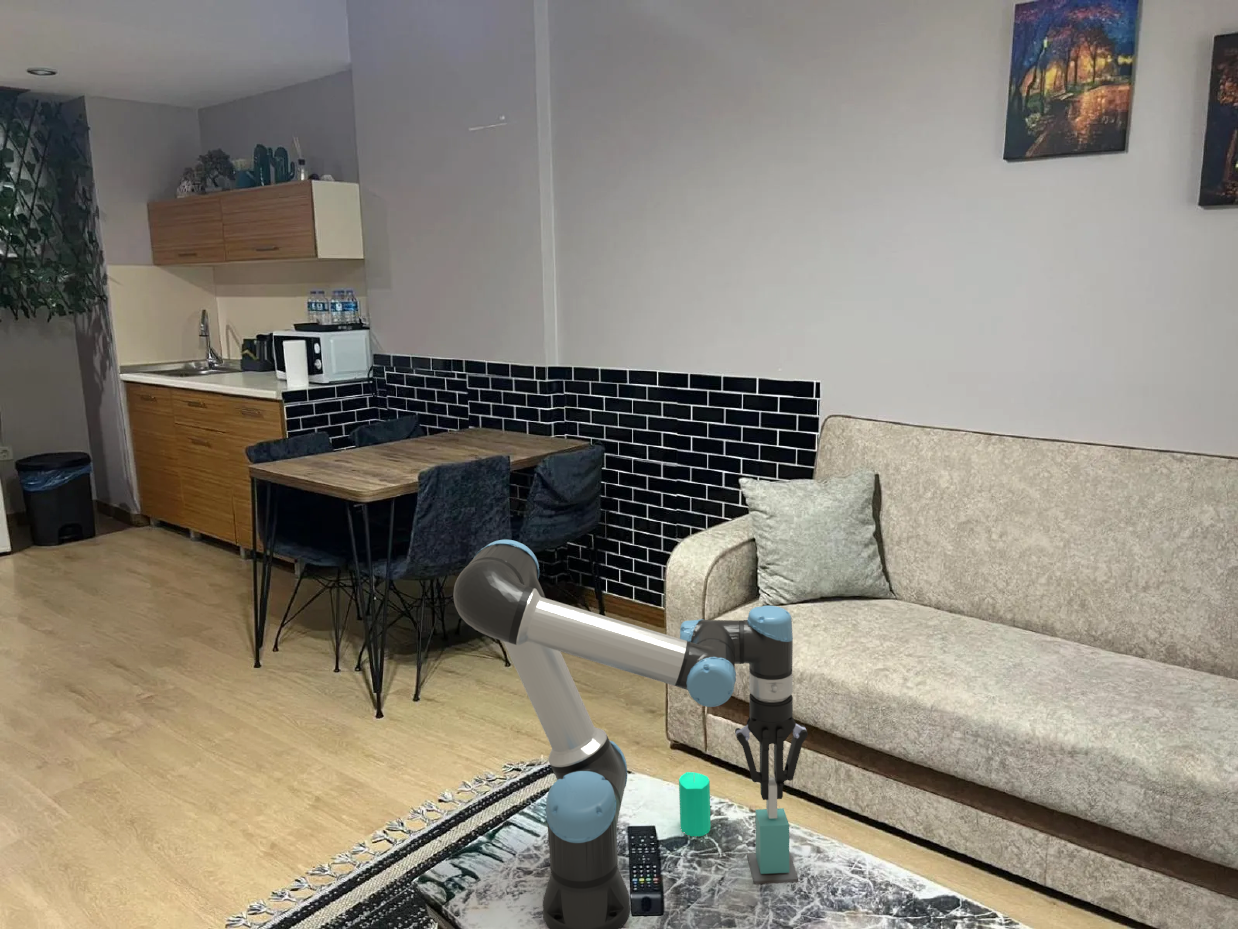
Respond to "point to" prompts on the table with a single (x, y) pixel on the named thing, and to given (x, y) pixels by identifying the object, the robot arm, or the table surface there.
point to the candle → (694, 804)
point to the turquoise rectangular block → (772, 842)
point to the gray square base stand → (771, 877)
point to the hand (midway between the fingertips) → (771, 814)
